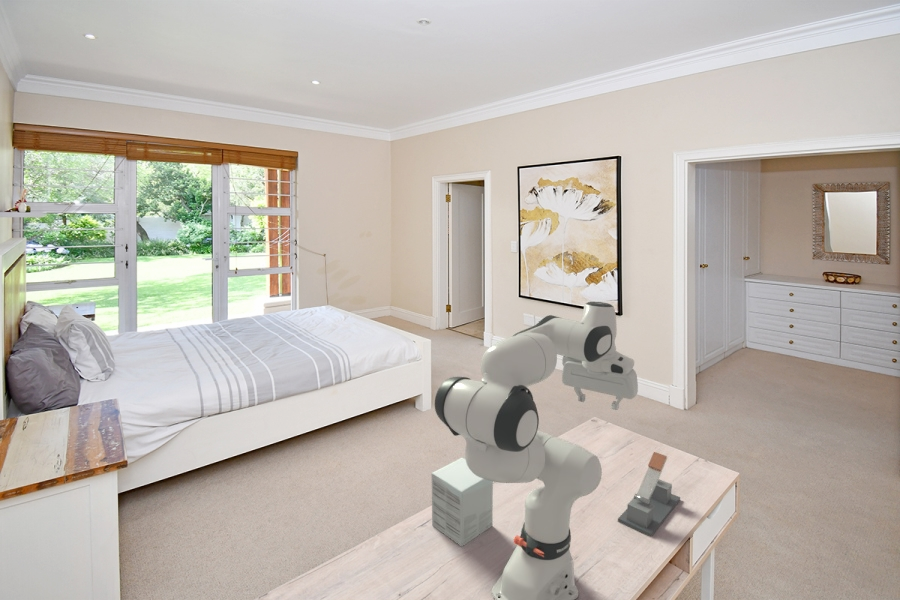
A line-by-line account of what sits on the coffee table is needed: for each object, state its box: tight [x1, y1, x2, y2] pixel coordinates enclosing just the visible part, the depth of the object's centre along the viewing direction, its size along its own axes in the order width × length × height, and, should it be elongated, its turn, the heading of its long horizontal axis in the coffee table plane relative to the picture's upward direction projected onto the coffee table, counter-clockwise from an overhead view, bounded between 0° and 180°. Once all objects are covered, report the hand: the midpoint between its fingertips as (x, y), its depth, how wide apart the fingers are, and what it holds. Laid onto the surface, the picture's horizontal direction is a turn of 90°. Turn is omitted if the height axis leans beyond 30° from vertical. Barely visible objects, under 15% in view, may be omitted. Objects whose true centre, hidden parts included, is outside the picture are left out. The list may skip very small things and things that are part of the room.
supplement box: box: [431, 457, 494, 547], centre depth 140 cm, size 13×13×18 cm
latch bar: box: [633, 451, 668, 505], centre depth 145 cm, size 17×4×2 cm
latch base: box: [617, 478, 681, 537], centre depth 147 cm, size 24×10×9 cm, turn 136°
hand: (598, 404), depth 131 cm, fingers open, 8 cm apart
